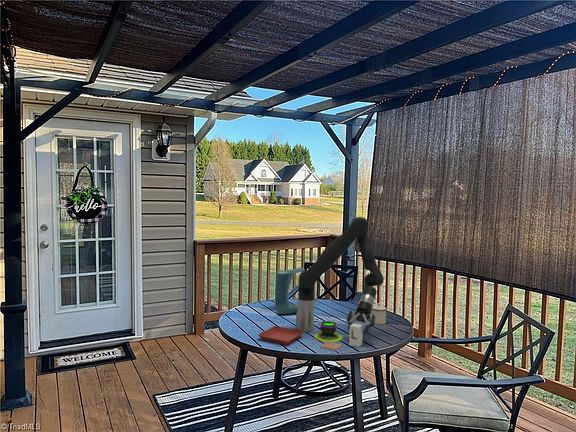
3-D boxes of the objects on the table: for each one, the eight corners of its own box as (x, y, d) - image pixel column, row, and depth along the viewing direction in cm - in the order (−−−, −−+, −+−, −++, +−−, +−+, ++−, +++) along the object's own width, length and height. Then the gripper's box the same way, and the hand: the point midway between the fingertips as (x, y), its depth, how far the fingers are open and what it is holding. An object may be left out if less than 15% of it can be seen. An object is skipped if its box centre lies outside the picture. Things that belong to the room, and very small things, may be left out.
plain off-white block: (349, 345, 211) (349, 325, 210) (352, 342, 215) (353, 323, 215) (358, 347, 208) (359, 327, 208) (362, 344, 212) (362, 325, 212)
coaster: (320, 347, 206) (320, 345, 206) (327, 342, 213) (327, 341, 213) (335, 350, 202) (335, 349, 202) (341, 346, 209) (341, 344, 209)
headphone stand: (315, 307, 284) (314, 266, 285) (311, 316, 257) (310, 271, 257) (277, 307, 288) (276, 267, 288) (270, 316, 260) (268, 272, 261)
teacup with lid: (389, 323, 251) (389, 304, 251) (378, 325, 246) (379, 306, 246) (375, 318, 261) (375, 300, 261) (364, 320, 256) (364, 301, 256)
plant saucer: (287, 347, 206) (288, 340, 206) (257, 340, 215) (257, 334, 215) (304, 337, 222) (304, 331, 222) (275, 331, 231) (275, 325, 230)
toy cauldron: (347, 337, 223) (348, 317, 223) (330, 344, 212) (331, 322, 212) (325, 330, 233) (326, 311, 233) (308, 336, 223) (309, 316, 222)
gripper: (351, 298, 223) (342, 325, 214) (377, 302, 216) (368, 330, 206) (355, 306, 228) (346, 332, 218) (380, 310, 220) (372, 337, 211)
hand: (357, 331), depth 212 cm, fingers open, 8 cm apart
